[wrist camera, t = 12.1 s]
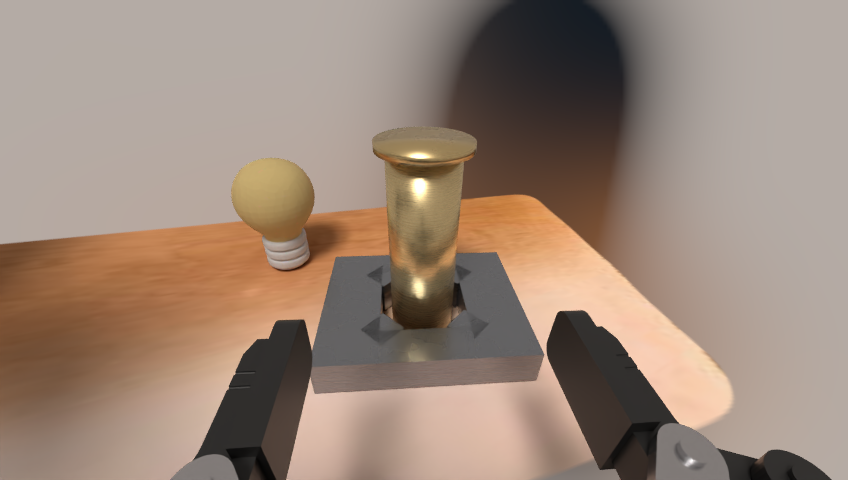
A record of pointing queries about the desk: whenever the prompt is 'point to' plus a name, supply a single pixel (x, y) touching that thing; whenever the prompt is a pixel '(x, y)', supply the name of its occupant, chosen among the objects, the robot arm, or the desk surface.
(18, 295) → the desk surface
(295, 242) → the light bulb
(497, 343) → the jig
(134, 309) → the desk surface
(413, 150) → the rivet
